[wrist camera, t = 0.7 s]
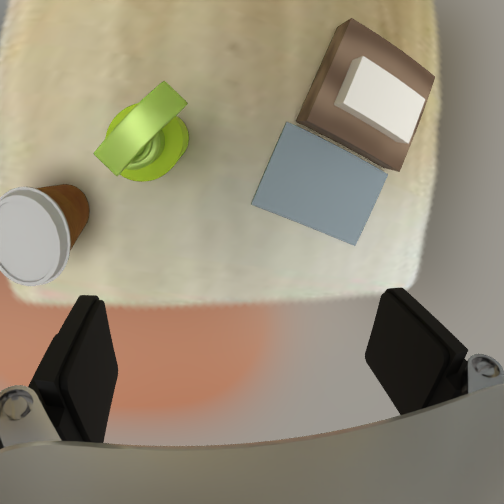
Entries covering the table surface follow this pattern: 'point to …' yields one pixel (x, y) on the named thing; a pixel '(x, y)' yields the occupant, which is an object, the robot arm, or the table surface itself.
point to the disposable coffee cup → (39, 231)
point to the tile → (380, 100)
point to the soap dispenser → (146, 136)
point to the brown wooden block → (331, 79)
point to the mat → (319, 185)
